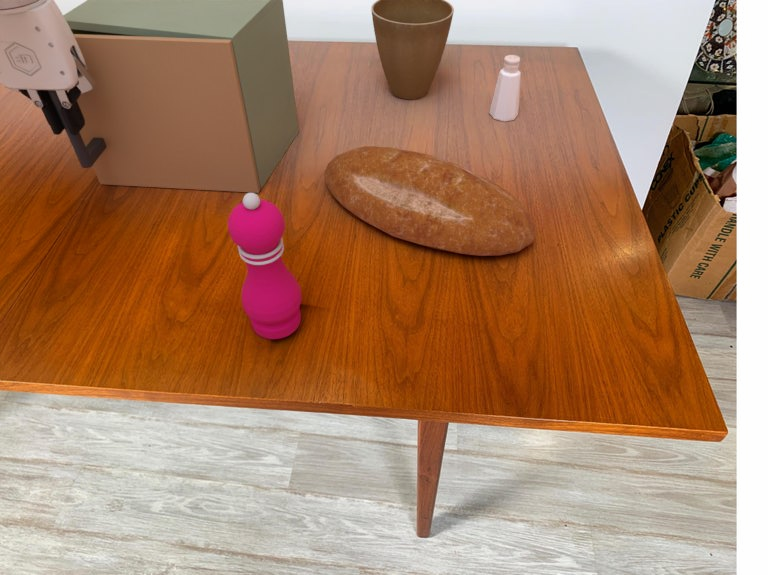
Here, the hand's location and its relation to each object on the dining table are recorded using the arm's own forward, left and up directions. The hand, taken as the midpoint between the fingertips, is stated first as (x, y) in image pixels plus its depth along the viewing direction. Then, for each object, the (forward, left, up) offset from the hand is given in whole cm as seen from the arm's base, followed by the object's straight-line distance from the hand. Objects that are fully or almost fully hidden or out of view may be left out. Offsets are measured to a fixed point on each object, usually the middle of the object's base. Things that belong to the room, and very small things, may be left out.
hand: (69, 128), depth 81 cm
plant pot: (+57, +22, -14) cm, 63 cm away
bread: (+47, -15, -14) cm, 52 cm away
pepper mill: (+22, -31, -14) cm, 41 cm away
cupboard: (+17, +12, -14) cm, 25 cm away
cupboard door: (+11, -1, -13) cm, 17 cm away
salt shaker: (+71, +8, -14) cm, 73 cm away
